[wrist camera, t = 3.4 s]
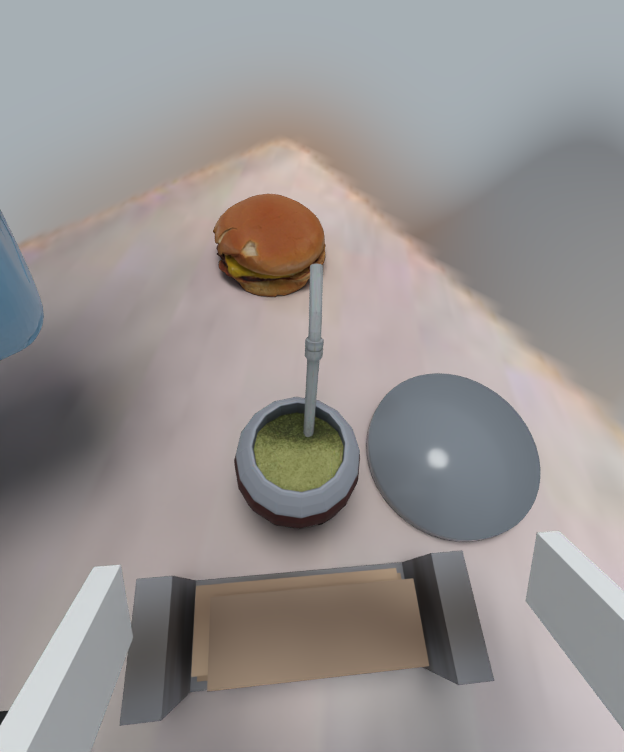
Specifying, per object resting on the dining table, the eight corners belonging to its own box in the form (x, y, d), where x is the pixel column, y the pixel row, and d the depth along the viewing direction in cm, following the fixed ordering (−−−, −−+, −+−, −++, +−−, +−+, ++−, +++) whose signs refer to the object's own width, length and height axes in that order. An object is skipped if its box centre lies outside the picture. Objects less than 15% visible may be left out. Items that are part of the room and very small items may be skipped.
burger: (326, 230, 40) (330, 189, 36) (320, 303, 35) (324, 265, 31) (227, 221, 40) (221, 178, 36) (209, 292, 35) (199, 253, 31)
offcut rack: (446, 660, 23) (498, 680, 17) (158, 692, 21) (114, 726, 16) (426, 560, 25) (466, 550, 20) (167, 583, 24) (132, 579, 18)
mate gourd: (282, 563, 25) (281, 523, 12) (217, 462, 28) (157, 341, 15) (372, 491, 27) (452, 392, 14) (303, 406, 30) (318, 258, 17)
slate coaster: (334, 470, 28) (336, 465, 27) (414, 355, 33) (418, 347, 32) (493, 582, 25) (501, 581, 24) (553, 437, 30) (562, 431, 29)
